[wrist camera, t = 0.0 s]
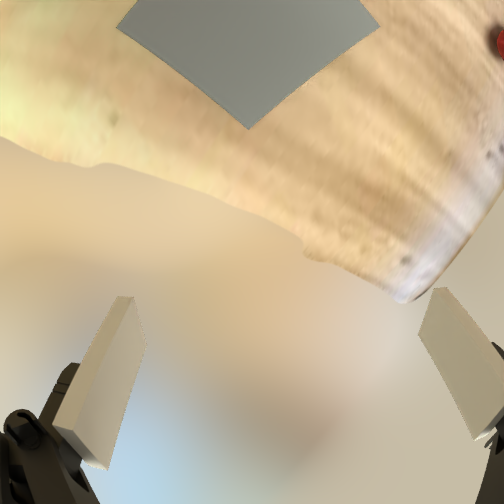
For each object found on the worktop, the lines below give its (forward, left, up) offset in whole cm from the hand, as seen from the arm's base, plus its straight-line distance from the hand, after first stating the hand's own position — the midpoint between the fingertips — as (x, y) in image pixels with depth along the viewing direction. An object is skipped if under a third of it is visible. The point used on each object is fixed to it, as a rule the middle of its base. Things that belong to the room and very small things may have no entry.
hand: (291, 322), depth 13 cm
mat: (-6, -9, -28) cm, 30 cm away
